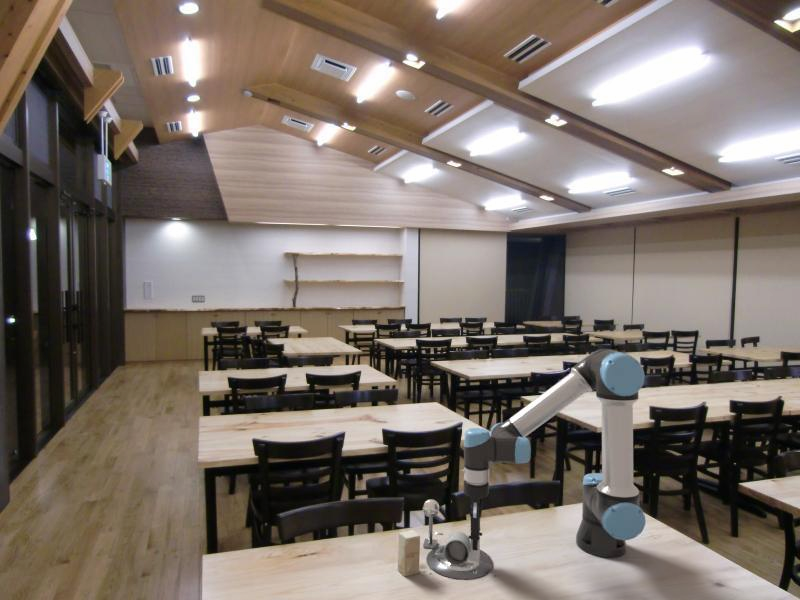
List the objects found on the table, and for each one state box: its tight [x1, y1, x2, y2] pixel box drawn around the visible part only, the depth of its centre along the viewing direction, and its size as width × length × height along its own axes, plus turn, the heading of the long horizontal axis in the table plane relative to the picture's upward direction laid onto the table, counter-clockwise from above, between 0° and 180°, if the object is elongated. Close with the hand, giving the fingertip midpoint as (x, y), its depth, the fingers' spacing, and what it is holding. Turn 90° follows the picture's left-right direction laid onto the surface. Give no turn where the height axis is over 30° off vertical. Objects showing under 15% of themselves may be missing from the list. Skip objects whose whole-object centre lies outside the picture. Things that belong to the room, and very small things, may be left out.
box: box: [397, 529, 421, 577], centre depth 153 cm, size 5×4×11 cm
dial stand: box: [422, 499, 444, 550], centre depth 169 cm, size 6×4×14 cm, turn 79°
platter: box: [426, 544, 494, 580], centre depth 159 cm, size 20×20×1 cm
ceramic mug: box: [435, 531, 471, 566], centre depth 160 cm, size 11×8×8 cm
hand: (474, 558), depth 158 cm, fingers closed
